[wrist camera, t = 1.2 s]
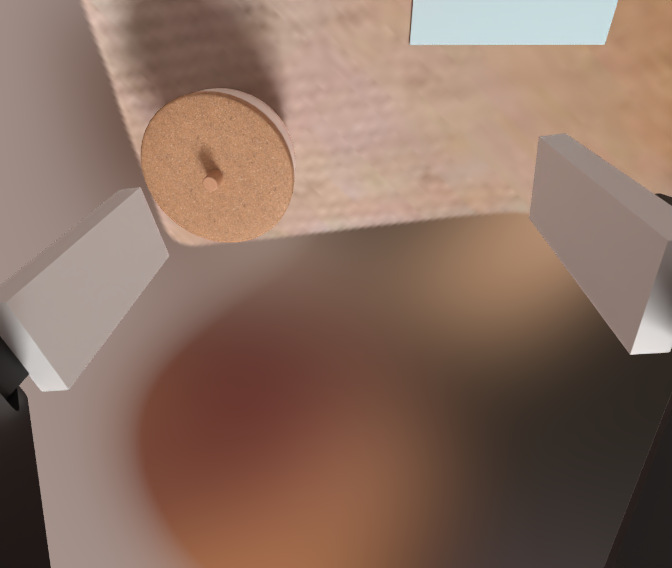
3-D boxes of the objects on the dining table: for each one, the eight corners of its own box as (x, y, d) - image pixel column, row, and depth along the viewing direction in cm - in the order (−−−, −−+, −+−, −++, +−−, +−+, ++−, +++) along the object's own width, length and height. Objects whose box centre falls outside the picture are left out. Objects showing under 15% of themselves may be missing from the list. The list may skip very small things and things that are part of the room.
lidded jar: (230, 223, 40) (199, 275, 32) (153, 119, 35) (93, 151, 27) (328, 170, 37) (319, 214, 29) (257, 47, 32) (224, 61, 24)
